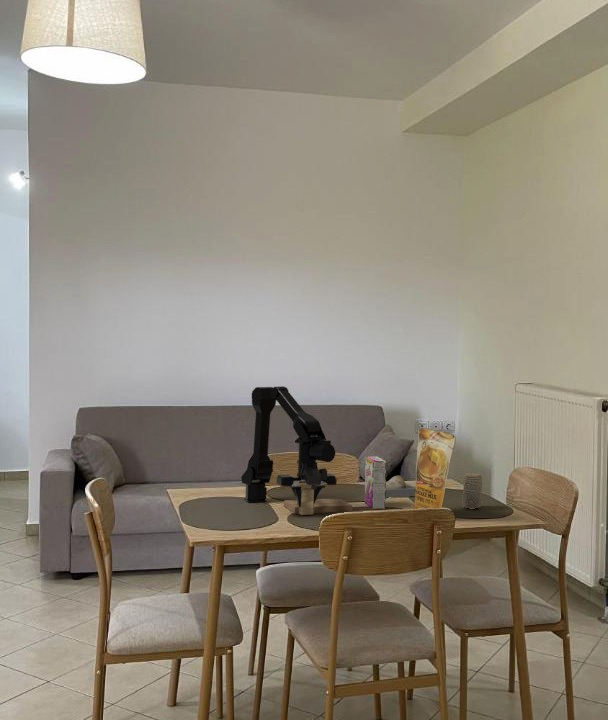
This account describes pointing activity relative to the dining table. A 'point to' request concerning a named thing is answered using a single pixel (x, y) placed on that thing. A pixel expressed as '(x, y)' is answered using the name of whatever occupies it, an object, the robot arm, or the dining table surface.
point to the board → (321, 506)
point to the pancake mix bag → (432, 466)
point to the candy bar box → (375, 482)
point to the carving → (472, 490)
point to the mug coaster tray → (401, 492)
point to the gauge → (306, 501)
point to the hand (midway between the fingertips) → (305, 506)
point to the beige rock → (396, 483)
